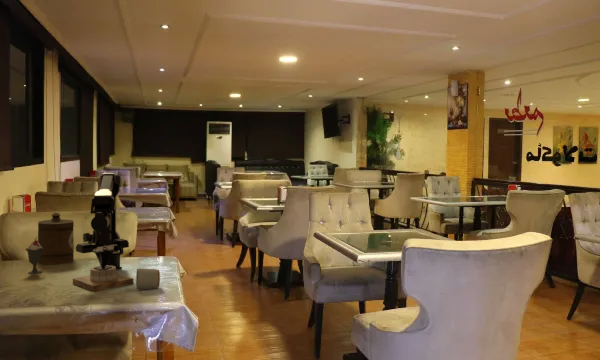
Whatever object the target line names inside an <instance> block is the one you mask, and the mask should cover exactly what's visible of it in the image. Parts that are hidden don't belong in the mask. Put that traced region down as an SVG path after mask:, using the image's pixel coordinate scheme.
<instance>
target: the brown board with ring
mask: <svg viewBox="0 0 600 360" xmlns="http://www.w3.org/2000/svg"><path fill="white" fill-rule="evenodd" d="M98 267H101V265H97V266H93V267H91V268H90V270H89V272H90V273H89V274H90V275H85V276H84V275H83V276H79V277H73V278H72V284H74V285H76V286H77V287H81V288H84V289H86V290H89V291H91V292H93V293H94V292H98V291H105V290H108V289H113V288H119V287H123V286H128V285H133V284H134V278H133V277H130V276H127V275H123V274H121V273H118V272H117V269H116V267H115V266H108V265H106V266H105V267H110V269H108V270H96V268H98Z"/></svg>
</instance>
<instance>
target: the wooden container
mask: <svg viewBox="0 0 600 360" xmlns="http://www.w3.org/2000/svg"><path fill="white" fill-rule="evenodd" d="M51 217H52V218H50V219H46V220H45V219H44V220H39V221H38V223H37V226H38V227H37V229H38V230H37V241H38V243H39V244H40V246H41V247H42V248H44V249H42V252H41V259H40V262H39V263H38V264H43V265H60V264H61V265H62V264H67V263H71V262H73V261H74V260H75V259H74V257H75V256H74V253H75V252H74V247H75V245H74V243H75V241H74V240H75V239H74V226H75V225H74V222H75V221H74V220H73V219H64V218H61V214H60V213H59V212H54V213H52V214H51Z"/></svg>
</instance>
